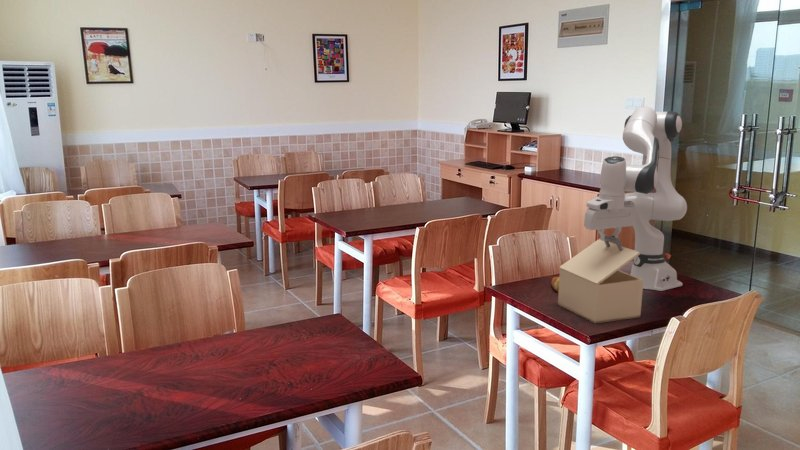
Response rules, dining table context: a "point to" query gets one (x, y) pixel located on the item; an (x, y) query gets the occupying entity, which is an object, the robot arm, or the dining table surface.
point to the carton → (601, 297)
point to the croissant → (555, 283)
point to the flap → (600, 260)
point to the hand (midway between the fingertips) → (608, 239)
